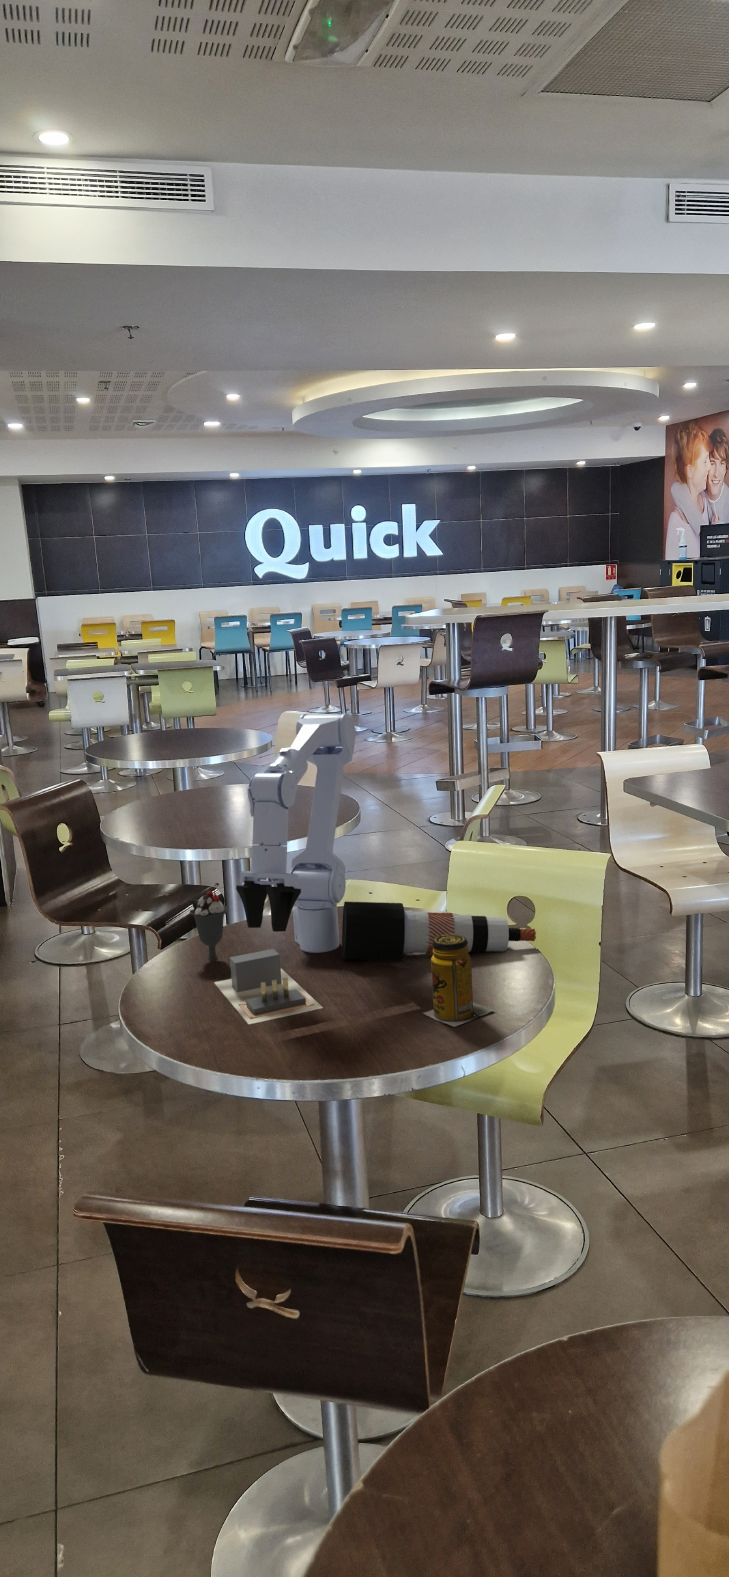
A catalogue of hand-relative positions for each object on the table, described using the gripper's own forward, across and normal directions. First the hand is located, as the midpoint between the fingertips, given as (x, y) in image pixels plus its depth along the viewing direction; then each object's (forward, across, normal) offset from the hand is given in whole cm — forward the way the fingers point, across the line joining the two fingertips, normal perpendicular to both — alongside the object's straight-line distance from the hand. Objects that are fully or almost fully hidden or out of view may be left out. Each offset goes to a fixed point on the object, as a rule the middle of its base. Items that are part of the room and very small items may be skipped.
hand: (266, 929), depth 164 cm
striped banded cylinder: (+5, +5, +33) cm, 34 cm away
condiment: (+11, +26, +19) cm, 34 cm away
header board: (+11, 0, 0) cm, 11 cm away
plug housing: (+9, -4, +1) cm, 10 cm away
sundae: (+8, -21, +2) cm, 23 cm away
